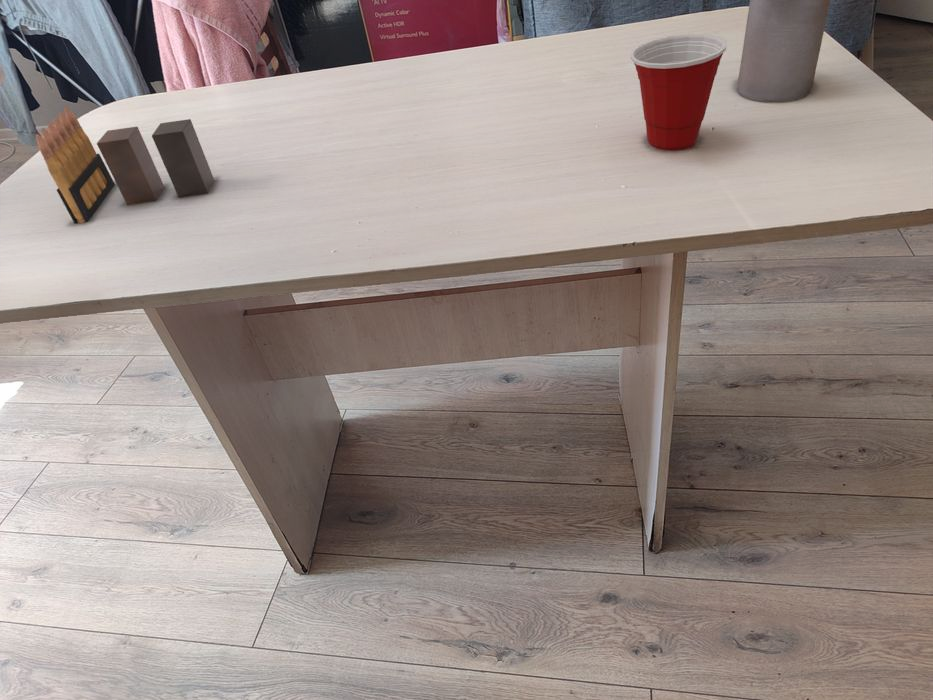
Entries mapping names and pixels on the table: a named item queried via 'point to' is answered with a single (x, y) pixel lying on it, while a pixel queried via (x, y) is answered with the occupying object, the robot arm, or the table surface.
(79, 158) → the ammunition clip
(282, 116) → the table surface
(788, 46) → the pillar candle
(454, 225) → the table surface
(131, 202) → the walnut block
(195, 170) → the dark gray block
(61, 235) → the table surface
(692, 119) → the plastic cup
